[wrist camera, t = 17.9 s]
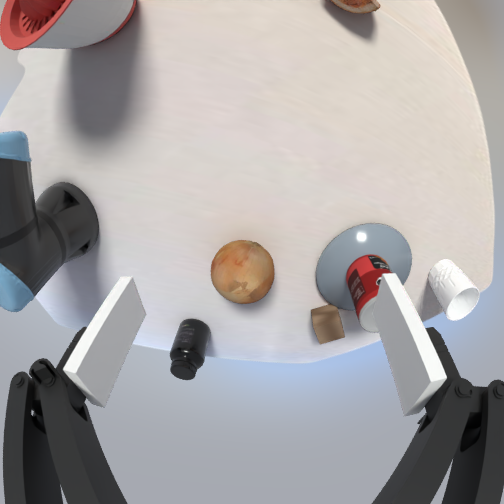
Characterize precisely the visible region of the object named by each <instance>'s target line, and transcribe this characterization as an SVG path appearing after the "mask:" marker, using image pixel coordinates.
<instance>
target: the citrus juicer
mask: <svg viewBox="0 0 504 504" xmlns="http://www.w3.org/2000/svg"><path fill="white" fill-rule="evenodd" d="M135 5H136V0H7V2H6V4H5V7H4V10H3V13H2V16H1V22H0V36H1V40H2V42H3V44H4V45H5V46H6V47H7V48H9V49H12V50H20V49H23V48H51V49H72V48H78V47H83V46H89V45H94V44H96V43H99V42H101V41H104V40H106V39H108V38H110V37H112V36H113V35H114V34H116V33H117V32H118V31H119V30H121V29H122V28H123V27H124V25H125V24H126V23H127V22H128V20H129V19H130V17H131V16H132V13H133V11H134V9H135Z"/></svg>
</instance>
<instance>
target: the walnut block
mask: <svg viewBox="0 0 504 504" xmlns="http://www.w3.org/2000/svg"><path fill="white" fill-rule="evenodd" d="M311 314H312V320H313V328H314V330H315V333H316V335H317V338H318V340H319V343H320V344H323V343H327V342H330V341H334V340H337V339H340V338H344V337H345V335H344V331H343V327H342V322H341V319H340V315H339V312H338V308H337V307H336V306H334V305H332V304H329V305H326V306H322V307H319V308H316V309H312V310H311Z"/></svg>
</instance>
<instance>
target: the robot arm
mask: <svg viewBox="0 0 504 504" xmlns="http://www.w3.org/2000/svg"><path fill="white" fill-rule="evenodd" d="M97 236H98V220H97V216H96V213H95V210H94V208H93V205H92V204H91V202H90V200H89V199H88V197H87V196H86V195H85V194H84V193H83V192H82V191H81V190H80V189H79V188H78V187H76V186H74V185H72V184H70V183H65V182H60V183H56V184H54V185H53V186H51V187H49V188H47V189H46V190H45V191H44V192H43V193H42V194H41V196H40V197H39V198H38V200H37V201H36V203H35V199H34V191H33V183H32V174H31V158H30V155H29V146H28V138H27V136H26V134H25V133H24V132H22V131H11V132H3V133H0V306H1V307H3V308H4V309H6V310H8V311H11V312H18V311H20V310H22V309H23V308H24V307H25V306H26V305H27V304H28V303H29V302H30V301H32V300H33V299H34V297H35V296H36V294H37V293H38V292H39V291H40V290H41V288H42V287H43V286H44V285H45V284H46V283H47V281H48V280H49V279H50V278H51V277H52V276H53V275H54V273H55V272H56V271H57V270H58V269H59V268H60V267H61V266H62V265H63V264H64V263H66V262H69V261H71V260H73V259H76V258H78V257H81V256H83V255H84V254H86V253H87V252H88V251H89V250H90V249H91V248H92V247H93V245H94V244H95V242H96V240H97ZM372 314H373V317H374V320H375V323H376V325H377V328H378V331H379V334H380V337H381V340H382V343H383V346H384V348H385V351H386V355H387V358H388V361H389V364H390V367H391V371H392V374H393V377H394V381H395V384H396V387H397V391H398V395H399V398H400V401H401V406H402V410H403V413H404V416H408V415H413V414H417V413H419V412H420V411H421V410H422V409H423V408H424V407H425V409H426V412H427V413H426V414H425V415H424V416H423V417H422V418H421V419H420V420H419V422H418V424H420V423H421V424H420V426H419V428H418V430H417V432H416V434H415V436H414V438H413V439H412V442H411V443H410V445H409V447H408V449H407V451H406V452H405V454H404V456H403V457H402V459H401V461H400V463H399V464H398V466H397V468H396V469H395V471H394V472H393V474H392V475H391V477H390V479H389V480H388V482H387V483H386V485H385V486H384V487H383V489H382V490H381V492H380V493H379V495H378V496H377V497H376V499H375V500H374V501H373V503H372V504H430V503H431V501H432V500H433V498H434V496H435V494H436V492H437V491H438V489H439V487H440V485H441V483H442V481H443V479H444V477H445V475H446V473H447V471H448V468H449V466H450V464H451V462H452V459H453V463H452V467H451V472H450V476H449V479H448V484H447V487H446V491H445V494H444V498H443V501H442V504H500V501H501V496H502V492H503V486H504V382H503V381H501V380H494V381H492V382H491V383H490V384H489V385H488V387H476V386H473V385H472V384H471V383H470V382H469V381H468V380H466V379H463V378H461V377H460V375H459V373H458V370H457V368H456V366H455V364H454V362H453V359H452V357H451V355H450V353H449V352H448V349H447V346H446V345H445V342H444V340H443V338H442V337H441V334H440V333H439V332H438V331H437V330H436V329H435V328H434V327H430V328H425V327H424V325H423V323H422V321H421V319H420V317H419V315H418V313H417V311H416V309H415V307H414V306H413V304H412V302H411V300H410V298H409V296H408V294H407V293H406V291H405V289H404V287H403V285H402V284H401V282H400V280H399V278H398V277H397V275H396V273H388V274H382V278H381V282H380V286H379V290H378V294H377V298H376V302H375V305H374V309H373V313H372ZM145 316H146V312H145V310H144V307H143V305H142V302H141V299H140V296H139V294H138V291H137V288H136V285H135V282H134V280H133V277H120V279H119V280H118V282H117V283H116V285H115V286H114V288H113V289H112V290H111V292H110V293H109V295H108V296H107V298H106V299H105V301H104V302H103V304H102V305H101V307H100V308H99V310H98V312H97V313H96V315H95V316H94V318H93V319H92V321H91V322H90V324H89V326H88V327H83V328H82V329H81V330H80V331H79V332H77V334H76V335H75V337H74V339H73V340H72V342H71V343H70V345H69V348H67V350H66V352H65V353H64V355H63V357H62V359H61V360H60V362H59V364H58V366H57V367H56V369H55V368H54V366H53V365H52V364H51V362H50V361H48V360H47V359H44V358H42V359H39V360H37V361H35V362H34V363H33V365H32V366H31V368H30V371H29V374H30V376H31V377H32V378H30V377H29V376H28V374H27V373H25V372H19V373H17V374H16V375H14V377H13V378H12V381H11V384H10V390H9V396H8V402H7V410H6V418H5V429H4V443H3V478H4V479H3V480H4V494H5V504H63V500H62V494H61V487H62V490H63V492H64V495H65V498H66V500H67V503H68V504H127V502H126V500H125V498H124V496H123V494H122V492H121V490H120V488H119V486H118V485H117V482H116V481H115V478H114V476H113V474H112V472H111V470H110V467H109V465H108V463H107V460H106V458H105V456H104V453H103V451H102V448H101V446H100V443H99V441H98V438H97V435H96V433H95V430H94V427H93V424H92V421H91V418H90V415H89V412H88V408H87V406H86V404H85V403H84V402H85V400H86V398H87V399H88V400H89V401H90V402H91V403H92V404H94V405H97V406H101V407H104V408H105V406H106V403H107V401H108V398H109V396H110V393H111V391H112V388H113V386H114V383H115V381H116V379H117V377H118V374H119V372H120V370H121V367H122V365H123V363H124V361H125V358H126V356H127V354H128V352H129V350H130V347H131V345H132V343H133V341H134V339H135V337H136V335H137V332H138V330H139V328H140V326H141V324H142V322H143V320H144V318H145ZM31 410H33V411H34V414H33V416H32V415H31ZM60 484H61V487H60Z"/></svg>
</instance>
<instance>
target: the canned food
mask: <svg viewBox="0 0 504 504" xmlns="http://www.w3.org/2000/svg"><path fill="white" fill-rule="evenodd" d="M388 273H393V272H392V270H391V269H390V267H389V265H388V264H387V262H386V261H385V260H384V259H383V258H382V257H380V256H378V255H373V254H369V255H364V256H361V257H359V258H358V259H356V260H355V261H354V262H353V263H352V264H351V265H350V266H349V268H348V270H347V274H346V282H347V285H348V288H349V291H350V294H351V297H352V301H353V304H354V307H355V310H356V313H357V317H358V319H359V322H360V324H361V326H362V328H363V329H364V330H366V331H368V332H373V333H379V331H378V328H377V325H376V323H375V320H374V317H373V314H372V313H373V309H374V305H375V302H376V298H377V294H378V290H379V286H380V282H381V278H382V274H388Z"/></svg>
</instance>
